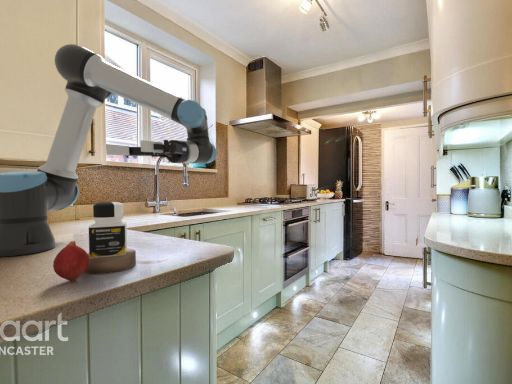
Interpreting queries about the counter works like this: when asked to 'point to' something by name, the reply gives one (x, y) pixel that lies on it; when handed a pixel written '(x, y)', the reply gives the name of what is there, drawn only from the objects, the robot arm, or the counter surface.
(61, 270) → the onion
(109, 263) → the walnut stand
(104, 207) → the medicine bottle
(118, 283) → the counter surface
